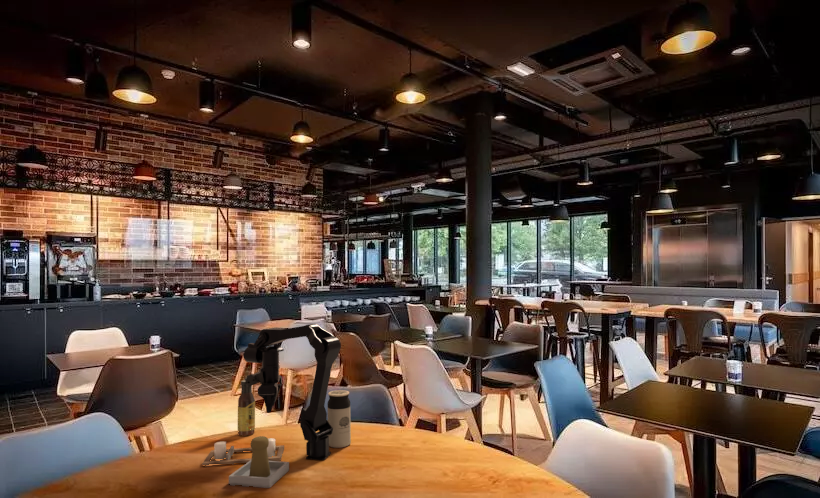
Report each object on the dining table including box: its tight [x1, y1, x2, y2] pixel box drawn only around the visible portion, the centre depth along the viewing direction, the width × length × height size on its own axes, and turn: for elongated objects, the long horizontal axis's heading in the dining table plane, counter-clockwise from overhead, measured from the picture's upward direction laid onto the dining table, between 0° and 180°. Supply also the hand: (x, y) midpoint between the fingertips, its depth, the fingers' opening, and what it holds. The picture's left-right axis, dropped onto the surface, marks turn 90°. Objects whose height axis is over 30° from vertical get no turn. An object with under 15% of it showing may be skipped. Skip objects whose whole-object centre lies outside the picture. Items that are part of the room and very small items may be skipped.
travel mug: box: [327, 389, 352, 449], centre depth 173 cm, size 8×8×18 cm
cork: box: [249, 435, 270, 477], centre depth 145 cm, size 6×6×11 cm
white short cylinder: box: [213, 441, 227, 459], centre depth 160 cm, size 4×4×5 cm
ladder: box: [201, 444, 285, 465], centre depth 162 cm, size 24×12×2 cm, turn 99°
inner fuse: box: [267, 437, 276, 457], centre depth 163 cm, size 4×4×5 cm
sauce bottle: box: [237, 379, 256, 437], centre depth 186 cm, size 7×6×20 cm
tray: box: [228, 460, 290, 489], centre depth 145 cm, size 13×13×2 cm
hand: (270, 409), depth 171 cm, fingers open, 9 cm apart
